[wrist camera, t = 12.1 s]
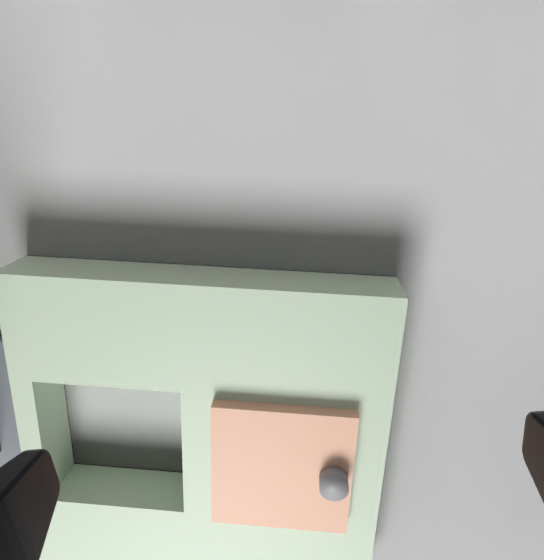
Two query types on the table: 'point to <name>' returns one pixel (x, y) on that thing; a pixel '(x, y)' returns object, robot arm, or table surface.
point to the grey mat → (7, 415)
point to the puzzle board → (211, 403)
